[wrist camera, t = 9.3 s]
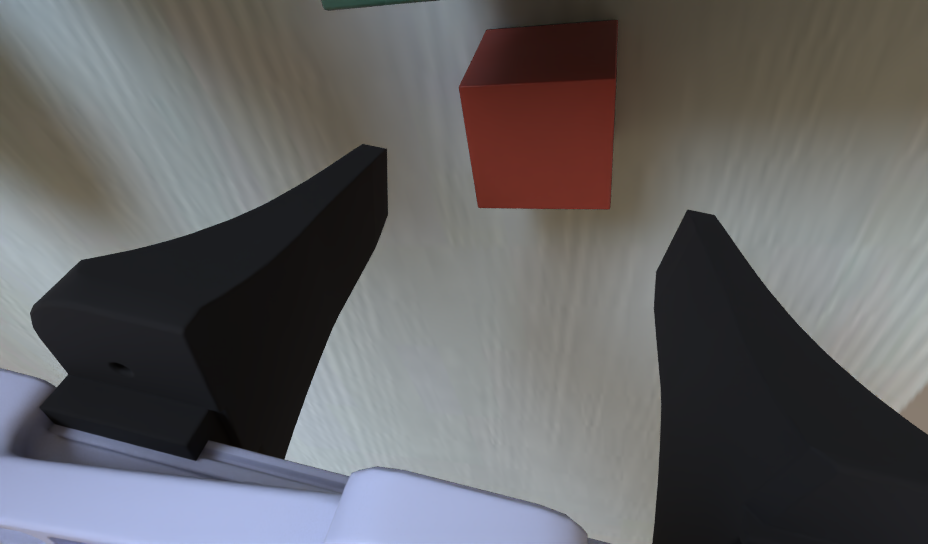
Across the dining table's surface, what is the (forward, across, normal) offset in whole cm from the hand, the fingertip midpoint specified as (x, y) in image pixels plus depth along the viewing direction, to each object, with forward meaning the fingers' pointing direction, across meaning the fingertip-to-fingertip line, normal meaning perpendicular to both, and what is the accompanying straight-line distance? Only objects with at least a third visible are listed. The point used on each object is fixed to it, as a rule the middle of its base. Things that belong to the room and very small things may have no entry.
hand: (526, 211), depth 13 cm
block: (+7, 0, 0) cm, 7 cm away
